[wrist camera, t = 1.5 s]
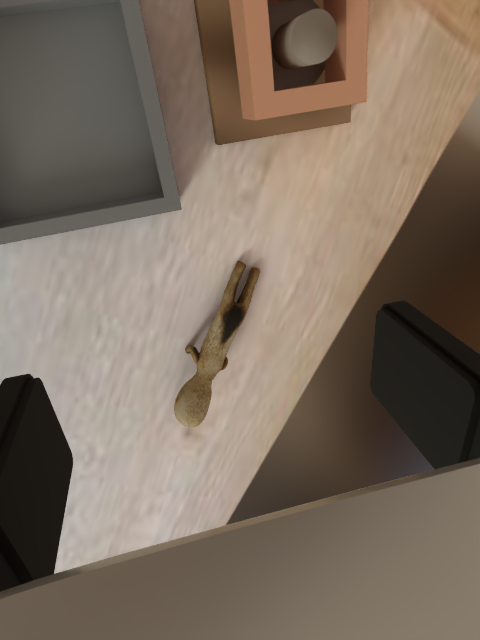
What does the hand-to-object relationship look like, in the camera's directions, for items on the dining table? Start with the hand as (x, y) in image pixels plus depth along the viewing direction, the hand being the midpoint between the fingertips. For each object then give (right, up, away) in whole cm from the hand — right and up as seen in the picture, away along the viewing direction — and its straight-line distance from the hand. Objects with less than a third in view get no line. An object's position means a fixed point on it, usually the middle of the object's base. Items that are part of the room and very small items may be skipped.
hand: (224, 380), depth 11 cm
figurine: (-2, 0, +25) cm, 25 cm away
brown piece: (+3, +20, +16) cm, 26 cm away
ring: (+3, +18, +13) cm, 23 cm away
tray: (-11, +15, +15) cm, 24 cm away
